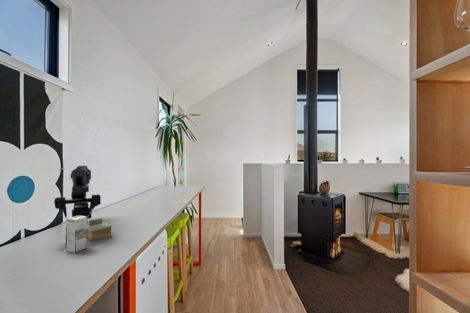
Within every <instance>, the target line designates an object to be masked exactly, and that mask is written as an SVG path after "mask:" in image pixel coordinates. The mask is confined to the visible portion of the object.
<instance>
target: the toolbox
mask: <svg viewBox="0 0 470 313" xmlns="http://www.w3.org/2000/svg"><path fill="white" fill-rule="evenodd" d="M110 237H112V227H109V228H104V229H100V230H96V231H90V230H88V229H87V240H89V241H90V242H96V241H100V240H103V239H108V238H110Z"/></svg>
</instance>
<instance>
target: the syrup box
mask: <svg viewBox="0 0 470 313" xmlns="http://www.w3.org/2000/svg"><path fill="white" fill-rule="evenodd" d="M87 222H88V219H87V217H85V216H75V217H72V216H70V217H67V218H65V250H64V251H65V252H67V253H73V254H75V253H78V252H81V251H84V250H85V249H87V246H88V245H87V244H88V243H87V240H88V239H87Z"/></svg>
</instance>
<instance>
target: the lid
mask: <svg viewBox="0 0 470 313" xmlns="http://www.w3.org/2000/svg"><path fill="white" fill-rule="evenodd" d="M109 227H111V228H112V227H113V225H112V224H110V223H108V222H105V221H103V218H97V219H91V220H88V224H87V229H88V230H90V231H96V230H100V229H104V228H109Z"/></svg>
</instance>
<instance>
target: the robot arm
mask: <svg viewBox="0 0 470 313" xmlns="http://www.w3.org/2000/svg"><path fill="white" fill-rule="evenodd" d="M70 179H71V181H72V186H71V195H70V196H71V198H68V199H66V196H61V197H60V196H59V197H55V199H54V201H53V203H54V207H55V209H57V210H59V211H62V213H63V214H64V218H65V219H67V218H68V217H67V216H68V214H67V206H66V205H70V204H72V205H73V208H72V209H71V217H75V216H85V217H87V220H89V219H92V212H93V210H94V209H95V208H96V207H98V206H100V205H101V195H100V194H91V197H89V198H87V193H88V192H90V191H89V190H90V187H89V186H90V182H91V181H90V180H92V171H91V169H89V168H88V165H78V166H76V168H74V169H73V170H72V171H71V173H70ZM88 223H89V221H87V224H88Z"/></svg>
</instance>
